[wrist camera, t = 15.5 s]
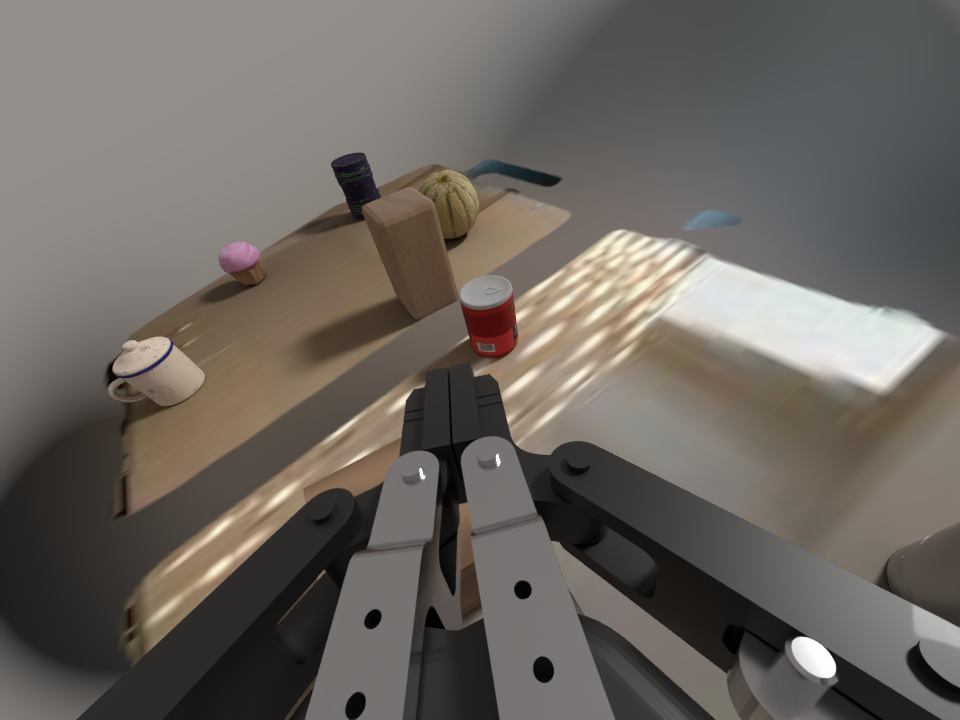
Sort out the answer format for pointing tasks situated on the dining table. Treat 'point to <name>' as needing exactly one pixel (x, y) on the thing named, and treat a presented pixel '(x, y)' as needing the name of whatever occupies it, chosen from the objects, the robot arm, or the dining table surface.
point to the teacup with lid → (156, 372)
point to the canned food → (490, 315)
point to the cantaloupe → (452, 202)
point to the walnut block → (373, 473)
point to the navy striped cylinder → (355, 182)
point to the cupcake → (242, 263)
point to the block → (412, 250)
